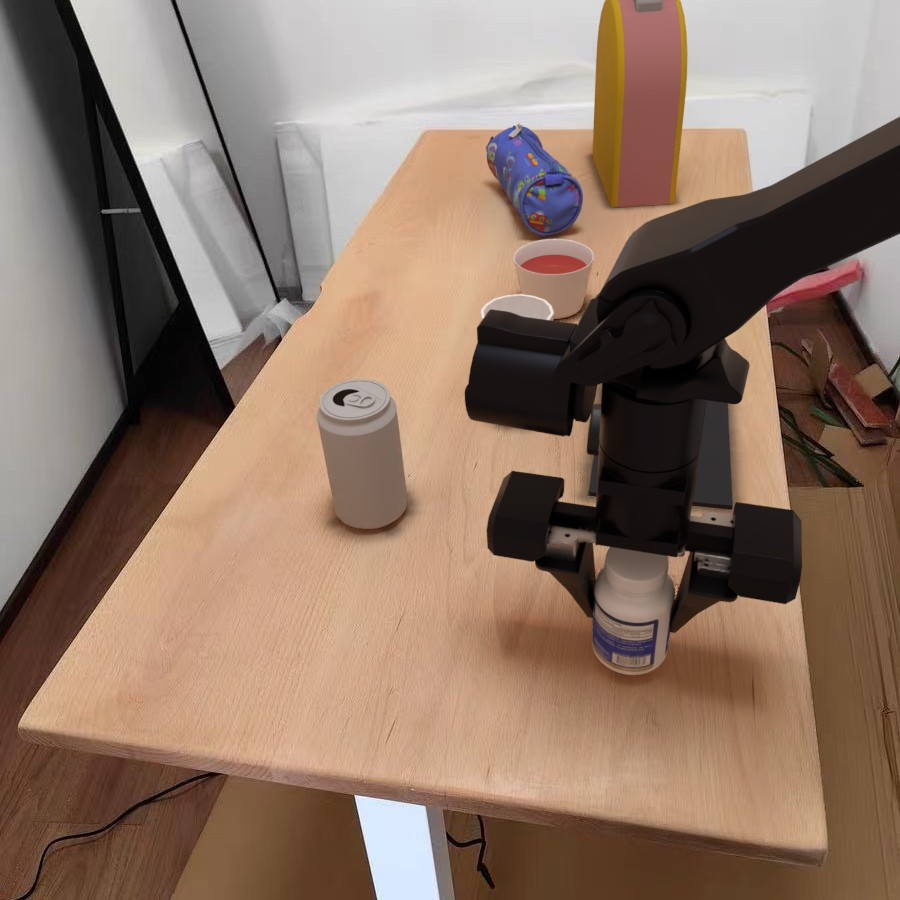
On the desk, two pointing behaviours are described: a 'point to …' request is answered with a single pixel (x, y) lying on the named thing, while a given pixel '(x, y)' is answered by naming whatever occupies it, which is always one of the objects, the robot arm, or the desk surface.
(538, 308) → the cup
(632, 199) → the lunch box
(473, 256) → the desk surface
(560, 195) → the pencil case
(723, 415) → the mat
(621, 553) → the pill bottle
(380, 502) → the beverage can
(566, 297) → the candle
